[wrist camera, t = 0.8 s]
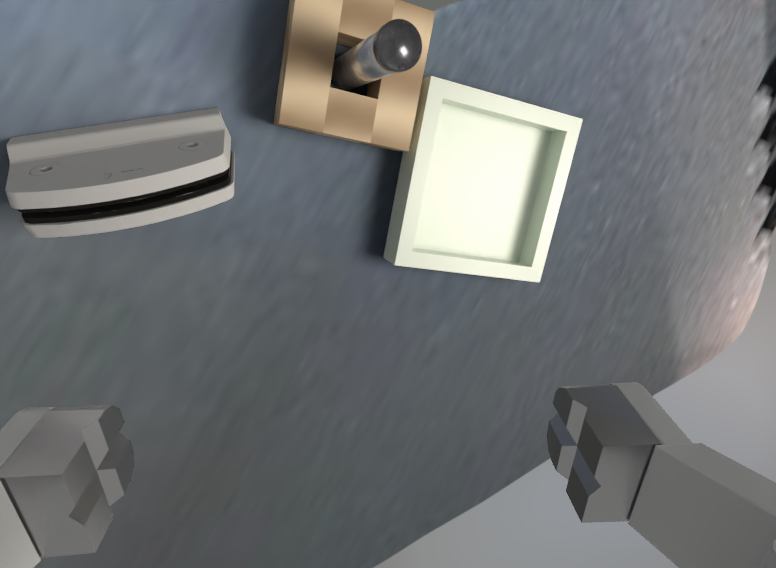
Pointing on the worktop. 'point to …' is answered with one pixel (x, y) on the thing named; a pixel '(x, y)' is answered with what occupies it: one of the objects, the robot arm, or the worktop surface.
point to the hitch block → (315, 64)
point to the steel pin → (379, 55)
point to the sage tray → (480, 183)
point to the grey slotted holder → (120, 173)
